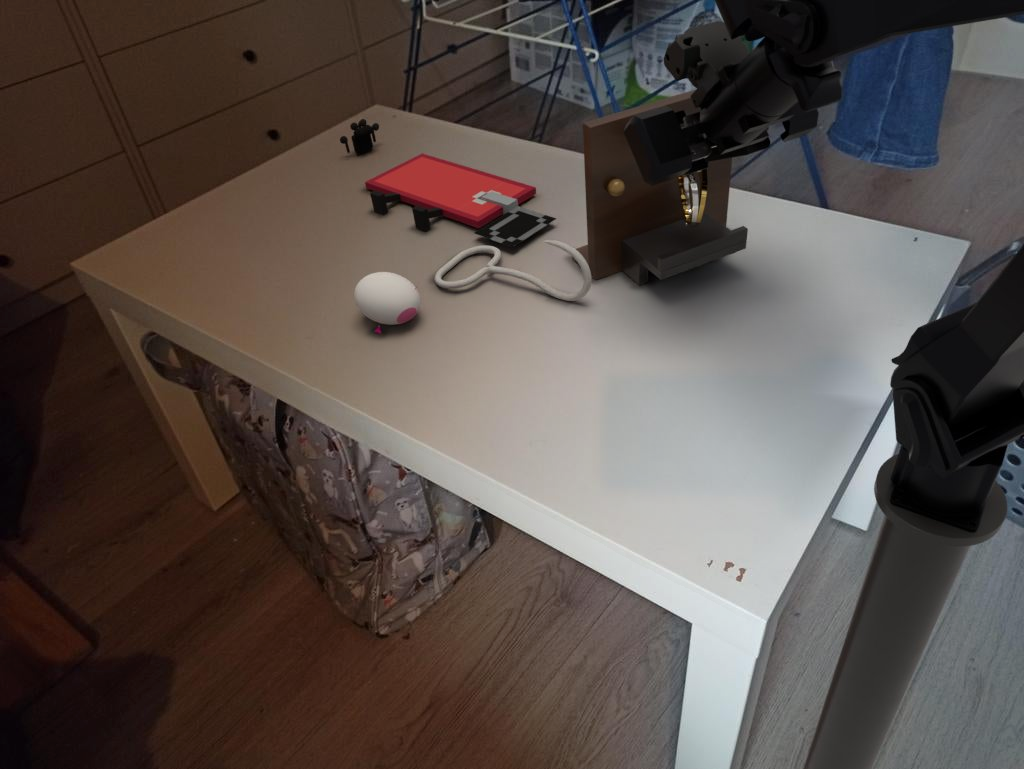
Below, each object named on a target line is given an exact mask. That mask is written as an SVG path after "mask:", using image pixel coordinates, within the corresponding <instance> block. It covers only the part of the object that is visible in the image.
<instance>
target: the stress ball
mask: <svg viewBox="0 0 1024 769" xmlns="http://www.w3.org/2000/svg"><path fill="white" fill-rule="evenodd" d="M417 288H418V286H415V285H414V284H413V282H412V281H410V280H409V279H407V278H405V277H404V276H403V275H400V274H398V273H394V272H389V271H377V272H373V273H368V274H367V275H365V276H364V277H362V278H361V279H360V280H359V282H357V284H356V286H355V289H354V293H353V294H354V301H355V304H356V306H357V308H358V310H359V311H360V312H361V313H362V314H363V315H364V316H365V317H366V318H368V319H370V320H372V321H374V322H376V323H379V324H378V326H377V328H376V329H375V330H374V331H373V332H374V333H377V334H381V335H382V334H383V333H382V332H381V328H380V327H381V326H380V325H381V324H383V325H387V326H388V325H389V326H393V325H402V324H404V323H407V322H409V321H411V320H412V319H413V318H414V317H415V316H416V315H417V313H418V312H419V310H420V307H421V297H420V293H419V291H418V289H417Z"/></svg>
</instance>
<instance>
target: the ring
mask: <svg viewBox="0 0 1024 769" xmlns="http://www.w3.org/2000/svg"><path fill="white" fill-rule="evenodd" d="M705 160H706V162H707V165H708V163H709V162H708V159H707V158H705ZM697 172H699V173H698V174H699V178H700V198H699V204H698V189H697V184H696V180H695V177H694V175H693V173H691V174H688V175H684V177H683V175H681V176H679V177H678V183H679V190H680V197H681V203H682V209H683V214H684V218H685V225H686V226H687V227H697V226H698V225H699V223H700V221H701V218H702V215H703V211H704V207H705V201H706V194H707V168H706V169H703V170H700V171H697ZM689 182H690V185H691V190H692V197H693V210H692V212H691V207H690V200H689V185H688V184H689Z"/></svg>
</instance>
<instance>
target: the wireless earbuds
mask: <svg viewBox="0 0 1024 769" xmlns="http://www.w3.org/2000/svg"><path fill="white" fill-rule="evenodd" d="M349 127H350V130H351V131H353V135H352V136H351V142H352V147H353V150H354V152H355V154H356V155H363V154H365V153H367V152H371V150H373V148H374V143H376V142H377V139H376V134H375V132H377V131H378V130H379V129H380V124H379V123H378V122H374V123H373V124H372V125H370V124H368V123H367V120H366V119H364V118H362V119H360V120H359V121H358V123H357V122H356V121H355V122H352V123H351V124H350V125H349ZM339 142H340V144H342V145H345V148H346V152H347V154H350V153H351V150H350V147H349V143H348V142H349V139H348V137H347V136H345V135H342V136H340V138H339Z"/></svg>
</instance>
